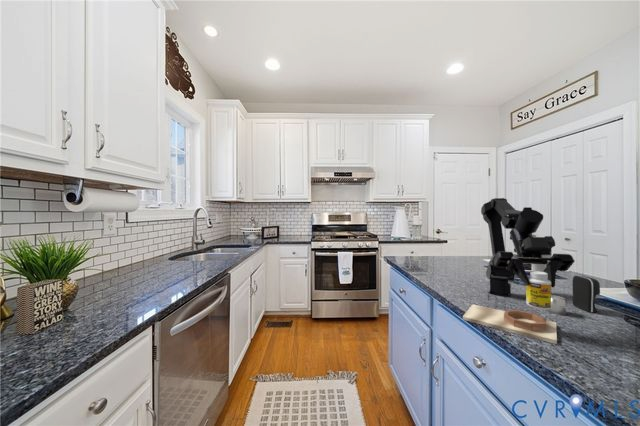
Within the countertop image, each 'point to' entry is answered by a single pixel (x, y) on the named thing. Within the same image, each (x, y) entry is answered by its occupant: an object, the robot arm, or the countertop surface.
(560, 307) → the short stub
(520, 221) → the robot arm
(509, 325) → the holder board
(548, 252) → the travel mug
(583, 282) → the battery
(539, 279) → the supplement bottle
